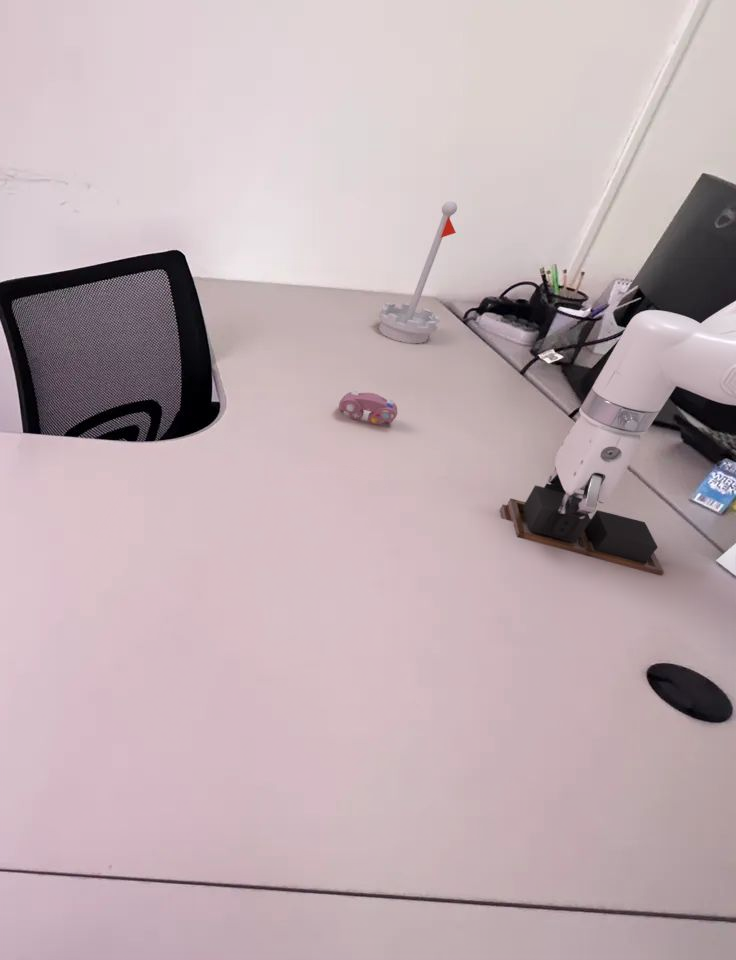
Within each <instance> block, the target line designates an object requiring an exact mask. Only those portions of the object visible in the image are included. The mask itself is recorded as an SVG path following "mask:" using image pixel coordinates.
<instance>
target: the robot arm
mask: <svg viewBox="0 0 736 960" xmlns="http://www.w3.org/2000/svg"><path fill="white" fill-rule="evenodd" d="M677 387H678V388H680V389H683V390H685V391H689V392H691V393H693V394H695V395H698V396H700V397H703V398H705V399H708V400H711V401H712V402H713V401H714V402H716V403H719V404H723V405H730V406H736V300H735V301H733V302H731V303H730V304H728V305H726V306H725V307H723V308H721V309H720V310H717V312H715V313H713V314H712V315H710V316H709V317H707V318H706V319H705V320H703V321H702V322H699V321H697V320H695V319H693V318H691V317H688V316H686V315H682V314H679V313H675V312H671V311H666V310H658V309H648V310H647V309H646V310H643V311H639V312H638V313H637V314H635V315H634V316H633V317H632V318H631V319H630V321H629V322H628V324H627V325H626V327H625V329H624V331H623V332H622V334H621V336H620V338H619V339H618V341H617V343H616V344H615V346H614V347H613V350H612V352H611V353H610V355H609V356H608V359H607V360H606V362H605V364H604V366H603V368H602V369H601V370H600V373H599V374H598V376H597V377H596V379H595V381H594V383H593V385H592V387H591V388H590V389H589V392H588V393H587V395H586V397H585V399H584V401H583V402H582V404H581V406H580V407H579V409H578V412H579V415H580V416H579V417H578V418H577V420H576V421H575V423H574V424H573V425H572V427H571V429H570V430H569V432H568V434H567V435H566V436H565V438H564V440H563V441H562V443H561V445H560V447H559V449H558V451H557V453H556V455H555V457H554V470H553V472H552V473H551V474H550V475H549V476H548V479H547V483H545V485H544V488H548V489H551V490H555V491H559V492H563V493H565V495H564V498H563V500H562V503H561V505H560V507H559V510H558V509H555V510H554V512H553V513H552V515H551V517H550V518H549V520H548V522H547V523H546V525H545V527H544V528H543V534H542V535H544V534H545V536H548V535H549V536H548V537H551V538H555V537H556V539H559V538H560V539H559V540H564V541H567V540H568V539H569V538H570V536H571V534H572V533H573V531H574V530H575V528H576V527H577V525H578V523H579V522H580V520H581V519H583V518H584V517H585V516H586V515H587V514H588V515H589V514H592V513H594V512H596V508H597V504H598V503H599V504H605V503H608V501H609V500H610V498H611V497H612V495H613V493H614V492H615V490H616V488H617V487H618V485H619V483H620V482H621V480H622V478H623V476H624V474H625V473H626V471H627V469H628V467H629V465H630V464H631V461H632V459H633V457H634V455H635V453H636V450H637V448H638V446H639V443H640V441H641V436H643V435H646V434H647V432H648V430H649V429H650V428H651V426H652V425H653V422H655V420H656V418H657V417H658V415H659V413H660V412H661V410H662V409H663V407H664V406H665V404H666V403H667V401H668V399H669V398H670V397H671V395H672V393H673V392H674V390H675V389H676V388H677ZM576 490H578V491H579V490H581V491H583V493H580V492H575V491H576ZM572 497H574V498H578V499H582V501H581V502H579V504H576V503H573V504H571V505H569V504H570V502H571V499H572Z"/></svg>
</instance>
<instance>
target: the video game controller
mask: <svg viewBox="0 0 736 960" xmlns="http://www.w3.org/2000/svg"><path fill="white" fill-rule="evenodd" d="M338 410H339V411H340V412H344V411H345V412H346V413H348V416H349V417H350V418H351V419H353V420H355V421H358V420H361V419H362V418H363V416H364V414H365V411H367V412H369V413H368V415H367V422H368V423H369V424H370V425H371V424H372V425H379V424H380V423H383V422H385V423H388V424H391V423H392V422H393V421H395V419H396V418H397V416H398V406H397V404H396V403H395V402H394V400H393V399H386V398H384V397H383V396H381V395H379V394H377V393H373V392H358V391H356V390H352V391H350V392H348V393H346V394H344V395H343V397H342V398H341V400H340V401H339V403H338Z"/></svg>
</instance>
